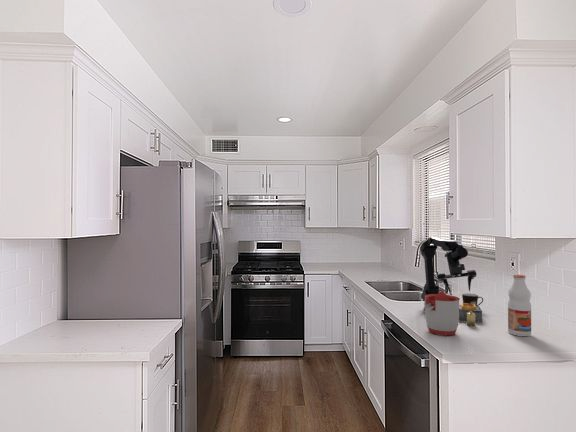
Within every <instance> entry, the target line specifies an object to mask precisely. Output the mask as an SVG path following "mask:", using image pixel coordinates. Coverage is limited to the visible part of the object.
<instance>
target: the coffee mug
mask: <svg viewBox="0 0 576 432" xmlns="http://www.w3.org/2000/svg"><path fill="white" fill-rule="evenodd" d="M461 297H462V298H461V299H462V303H467V304H475V305H476V306H479V307H480V305H482V303H483V302H484V298H483V297H482V296H479V294H476V293H471V292H470V293H469V292H466V293H464V292H463V293H462V294H461ZM479 298H480V299H481V302H480V303H478V301H479V300H478V299H479Z"/></svg>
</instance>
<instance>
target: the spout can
mask: <svg viewBox="0 0 576 432" xmlns="http://www.w3.org/2000/svg"><path fill="white" fill-rule="evenodd" d="M466 326H467V327H476V322H475V313H473V311H470V313H467V321H466Z"/></svg>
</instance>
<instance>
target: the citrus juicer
mask: <svg viewBox="0 0 576 432" xmlns="http://www.w3.org/2000/svg"><path fill="white" fill-rule="evenodd" d="M459 305H460V297H459V296H454V295H451V294H450V295H449V294H446V292H445V291H443V290H441V291H440V290H439V293H438V294H428V295H425V306H423V310H424V309H425V310H424V315H425V318H424V319H425V322H426V324H427V325H426V326H427V330H428V331H429V333H432V334H435V335H440V336H441V335H442V336H443V337H444V336H453V335H455V334H456V332H457V330H458V326H459V322H460V320H459ZM442 336H441V337H442Z"/></svg>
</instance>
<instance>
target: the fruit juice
mask: <svg viewBox="0 0 576 432" xmlns="http://www.w3.org/2000/svg"><path fill="white" fill-rule="evenodd" d="M512 277H513V283H512V286H510V288H509V289H508V291H507V293H508V299H509V300H508V302H507V332H508V333H509V334H510V335H512V334H513V336H516V335H517V337H522V336H528V337H531V336H532V304H531V301H530V300H531V297H532V294H531V291H530V290H529V288H528V287H527V284H526V281H525V280H526V275H525V274H513V275H512Z"/></svg>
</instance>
